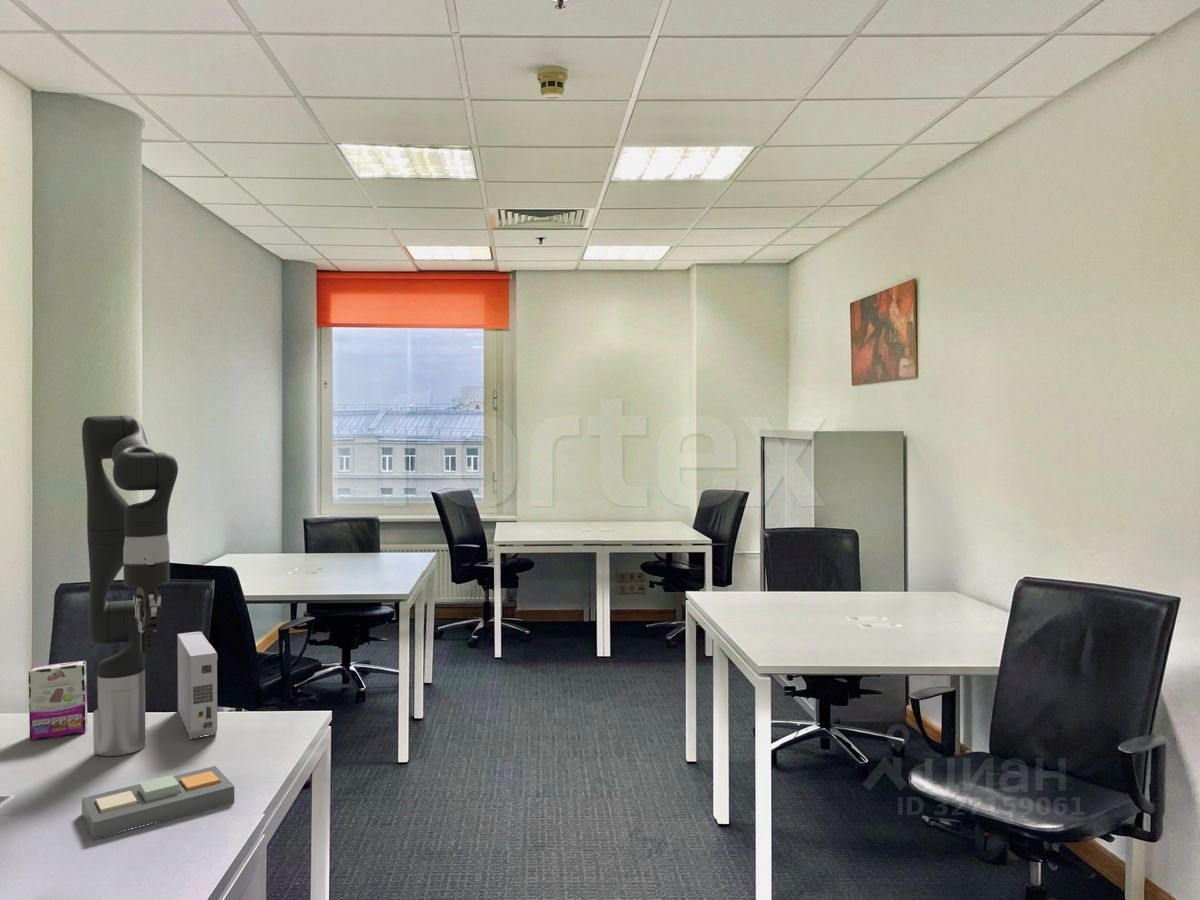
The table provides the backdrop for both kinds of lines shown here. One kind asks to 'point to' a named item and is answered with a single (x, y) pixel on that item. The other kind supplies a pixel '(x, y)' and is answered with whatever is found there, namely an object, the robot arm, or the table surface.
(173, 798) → the keypad
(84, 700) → the candy bar box
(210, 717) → the game console
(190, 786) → the orange key
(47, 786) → the table surface
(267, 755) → the table surface
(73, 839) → the table surface
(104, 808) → the beige key
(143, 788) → the sage key
